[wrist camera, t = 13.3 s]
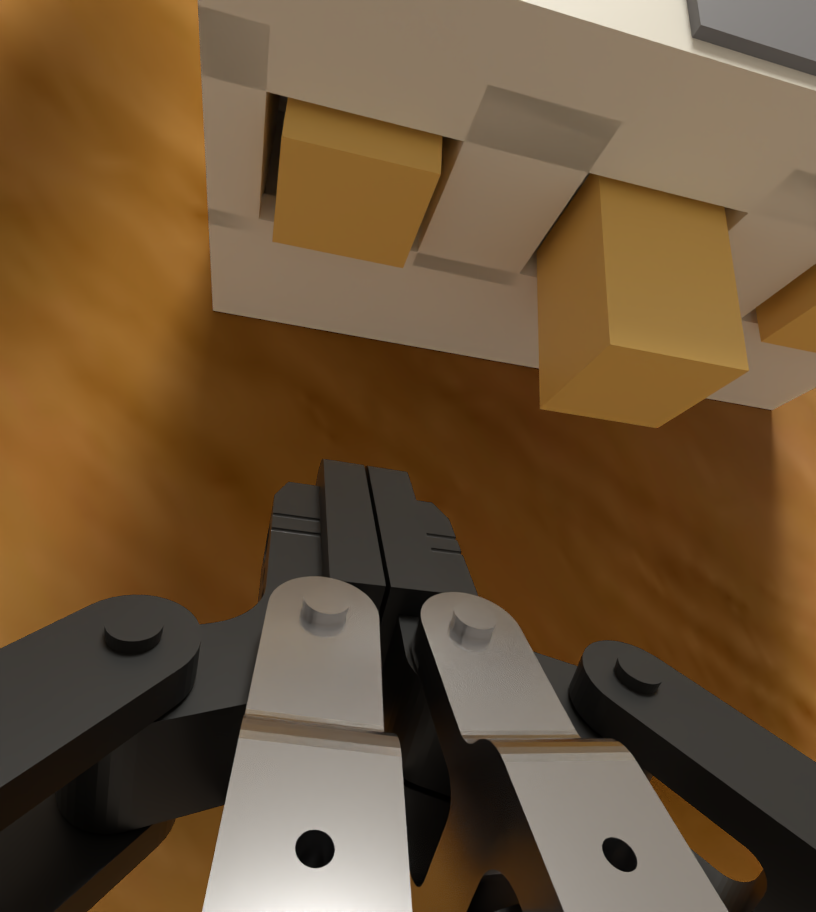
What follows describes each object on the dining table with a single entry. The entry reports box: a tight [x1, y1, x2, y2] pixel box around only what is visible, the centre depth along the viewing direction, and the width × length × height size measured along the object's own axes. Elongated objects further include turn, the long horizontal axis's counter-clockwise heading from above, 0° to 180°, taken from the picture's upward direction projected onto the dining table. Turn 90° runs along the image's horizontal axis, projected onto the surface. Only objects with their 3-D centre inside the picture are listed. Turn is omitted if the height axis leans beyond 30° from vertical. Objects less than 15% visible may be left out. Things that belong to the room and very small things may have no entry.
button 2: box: [537, 173, 749, 428], centre depth 19 cm, size 4×6×4 cm
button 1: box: [272, 97, 442, 268], centre depth 19 cm, size 4×6×4 cm
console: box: [198, 0, 816, 410], centre depth 22 cm, size 25×6×14 cm, turn 89°
